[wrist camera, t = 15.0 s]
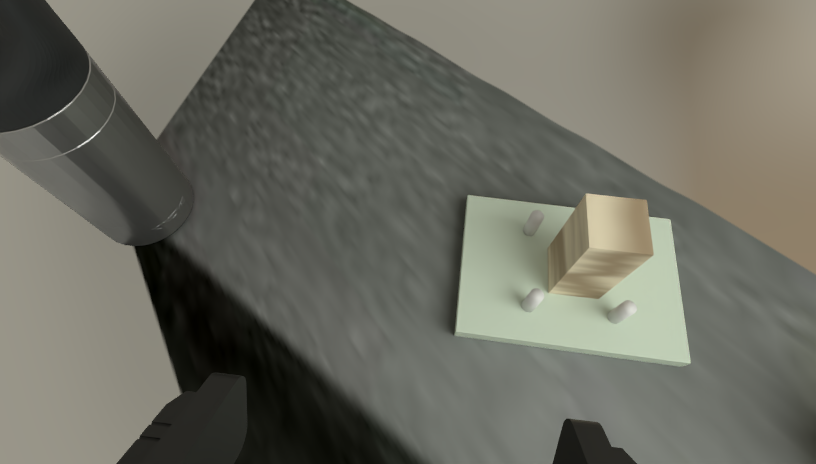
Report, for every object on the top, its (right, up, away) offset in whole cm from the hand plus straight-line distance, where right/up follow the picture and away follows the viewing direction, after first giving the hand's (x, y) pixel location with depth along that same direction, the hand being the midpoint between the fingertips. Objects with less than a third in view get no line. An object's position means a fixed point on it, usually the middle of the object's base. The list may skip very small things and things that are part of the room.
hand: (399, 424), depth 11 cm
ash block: (+15, +1, +30) cm, 34 cm away
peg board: (+15, 0, +32) cm, 35 cm away
